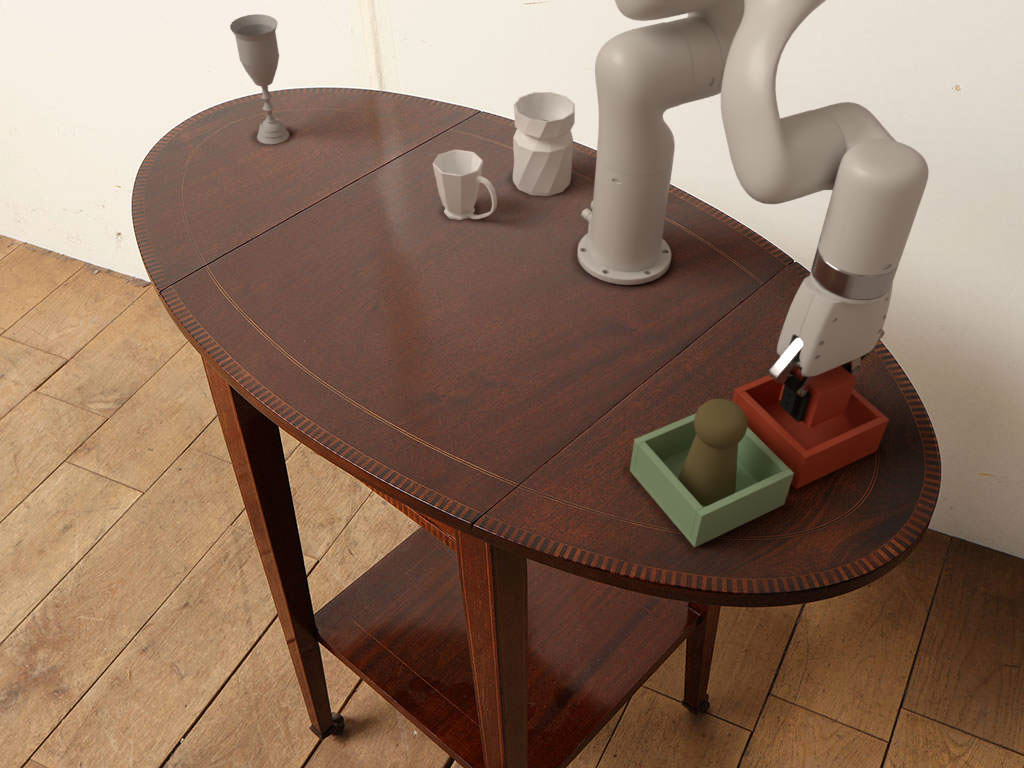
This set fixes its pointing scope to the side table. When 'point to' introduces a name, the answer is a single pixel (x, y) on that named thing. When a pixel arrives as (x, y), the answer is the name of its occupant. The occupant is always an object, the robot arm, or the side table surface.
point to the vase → (543, 143)
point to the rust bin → (810, 431)
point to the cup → (461, 183)
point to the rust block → (827, 395)
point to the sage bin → (658, 473)
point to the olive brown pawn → (714, 451)
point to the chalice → (261, 66)
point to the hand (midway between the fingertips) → (812, 402)
